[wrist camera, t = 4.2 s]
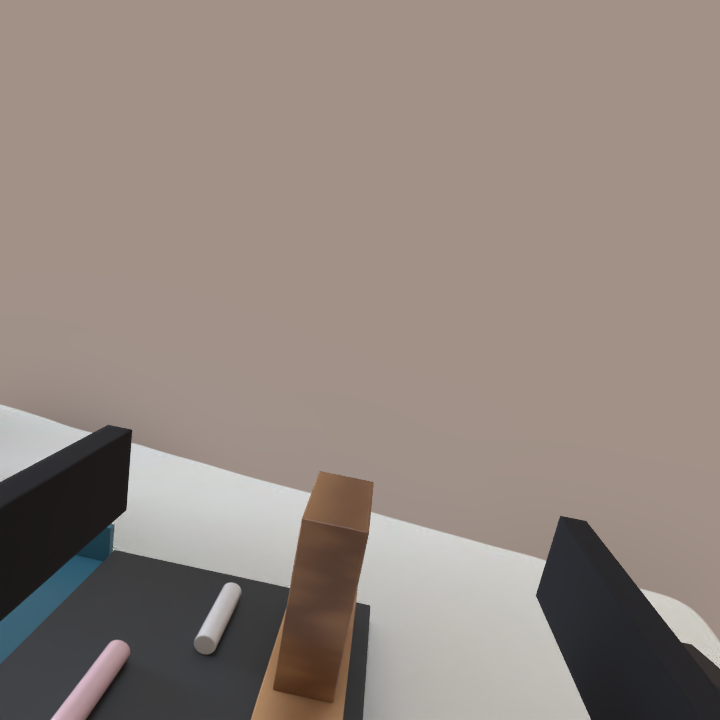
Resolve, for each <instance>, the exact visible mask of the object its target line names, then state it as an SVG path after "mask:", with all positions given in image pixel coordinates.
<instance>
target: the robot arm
mask: <svg viewBox="0 0 720 720" xmlns="http://www.w3.org/2000/svg"><path fill="white" fill-rule="evenodd" d="M131 438H132V430H130V429H126V428H120V427H115V426H111V425H107V426H105V427H103V428H102V429H100V430H98V431H96V432H94V433H92V434H90V435H88V436H86V437H84V438H83V439H81V440H79V441H77V442H75V443H73V444H71V445H69V446H68V447H66V448H64V449H62V450H60V451H58V452H56V453H54V454H52V455H51V456H49V457H47V458H45V459H43V460H41V461H39V462H37V463H35V464H34V465H32V466H30V467H28V468H26V469H24V470H22V471H20V472H19V473H17V474H15V475H13V476H11V477H9V478H7V479H5V480H3V481H2V482H0V621H2V620H3V619H4V618H5V617H6V616H7V615H8V614H10V613H11V612H12V611H13V610H14V609H15V608H16V607H17V606H19V605H20V604H21V603H22V602H23V601H24V600H25V599H26V598H28V597H29V596H30V595H31V594H32V593H33V592H34V591H35V590H37V589H38V588H39V587H40V586H41V585H42V584H43V583H44V582H46V581H47V580H48V579H49V578H50V577H51V576H52V575H54V574H55V573H56V572H57V571H58V570H59V569H60V568H61V567H63V566H64V565H65V564H66V563H67V562H68V561H69V560H70V559H72V558H73V557H74V556H75V555H76V554H77V553H78V552H79V551H81V550H82V549H83V548H84V547H85V546H86V545H87V544H89V543H90V542H91V541H92V540H93V539H94V538H95V537H96V536H98V535H99V534H100V533H101V532H102V531H103V530H104V529H105V528H107V527H108V526H109V525H110V524H111V523H112V522H113V521H114V520H116V519H117V518H118V517H119V516H120V515H121V514H122V513H123V512H125V511H126V507H127V493H128V480H129V466H130V452H131ZM536 597H537V599H538V601H539V603H540V606H541V608H542V610H543V612H544V615H545V617H546V619H547V621H548V624H549V626H550V628H551V630H552V633H553V635H554V637H555V639H556V642H557V644H558V646H559V648H560V651H561V653H562V655H563V657H564V660H565V662H566V664H567V666H568V669H569V671H570V673H571V675H572V678H573V680H574V682H575V684H576V687H577V689H578V691H579V693H580V696H581V698H582V700H583V702H584V705H585V707H586V709H587V711H588V714H589V716H590V718H591V720H720V669H719V668H718V667H717V666H716V665H715V664H714V663H713V662H711V661H710V660H709V659H708V658H707V657H706V656H704V655H703V654H702V653H701V652H700V651H699V650H697V649H696V648H695V647H694V646H693V645H691V644H686V643H681V642H680V640H679V639H678V638H677V637H676V635H675V634H674V633H673V631H672V630H671V629H670V628H669V626H668V625H667V624H666V623H665V621H664V620H663V619H662V617H661V616H660V615H659V614H658V612H657V611H656V610H655V608H654V607H653V606H652V605H651V603H650V602H649V601H648V599H647V598H646V597H645V596H644V594H643V593H642V592H641V591H640V589H639V588H638V587H637V585H636V584H635V583H634V582H633V581H632V579H631V578H630V576H629V575H628V574H627V573H626V571H625V570H624V569H623V568H622V566H621V565H620V564H619V562H618V561H617V560H616V559H615V557H614V556H613V555H612V553H611V552H610V551H609V550H608V548H607V547H606V546H605V545H604V543H603V542H602V541H601V539H600V538H599V537H598V536H597V534H596V533H595V532H594V530H593V529H592V528H591V527H590V525H589V524H588V523H587V522H586V521H583V520H578V519H573V518H568V517H563V516H560V519H559V522H558V525H557V528H556V532H555V535H554V538H553V542H552V545H551V548H550V551H549V555H548V558H547V561H546V564H545V568H544V571H543V574H542V577H541V581H540V584H539V587H538V590H537V594H536Z"/></svg>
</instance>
